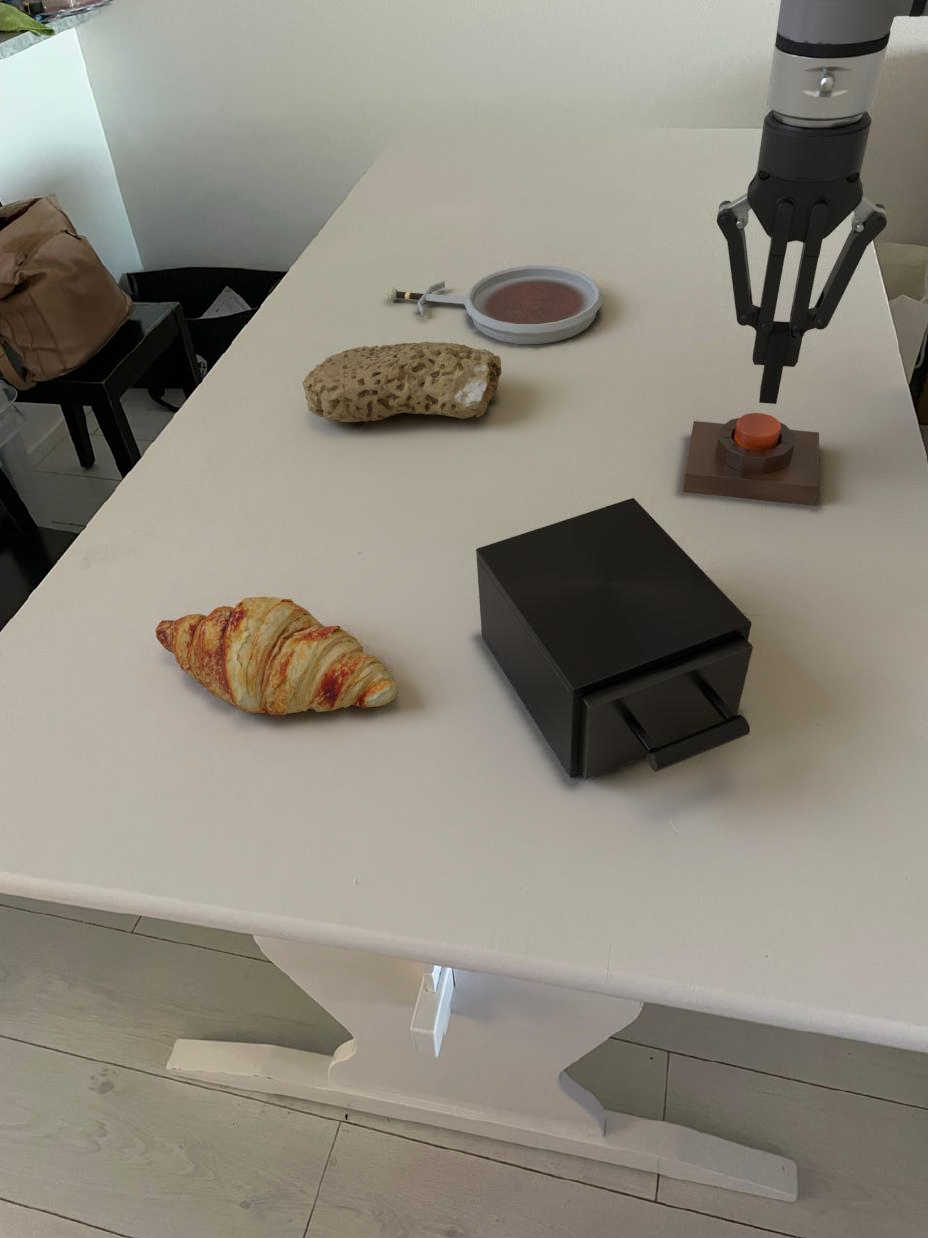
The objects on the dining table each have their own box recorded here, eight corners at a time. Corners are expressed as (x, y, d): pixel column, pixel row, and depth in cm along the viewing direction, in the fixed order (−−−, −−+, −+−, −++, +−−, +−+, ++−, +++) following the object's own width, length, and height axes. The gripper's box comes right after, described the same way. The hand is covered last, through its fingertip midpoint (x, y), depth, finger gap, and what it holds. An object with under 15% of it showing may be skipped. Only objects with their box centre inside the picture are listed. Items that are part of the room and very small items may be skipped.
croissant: (416, 707, 76) (426, 615, 73) (368, 757, 67) (377, 653, 64) (190, 653, 81) (192, 565, 79) (117, 692, 72) (116, 595, 69)
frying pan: (408, 254, 125) (615, 266, 117) (411, 275, 127) (614, 288, 119) (361, 313, 113) (586, 330, 106) (364, 335, 115) (585, 353, 108)
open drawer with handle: (771, 762, 65) (792, 689, 59) (616, 827, 62) (623, 757, 56) (634, 597, 77) (641, 524, 72) (499, 645, 74) (495, 573, 69)
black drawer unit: (732, 713, 69) (752, 622, 62) (570, 778, 66) (573, 690, 59) (625, 586, 80) (633, 497, 73) (481, 637, 76) (475, 548, 70)
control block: (814, 450, 92) (823, 416, 89) (814, 506, 86) (823, 470, 83) (691, 439, 94) (695, 405, 92) (682, 492, 88) (687, 457, 86)
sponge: (500, 391, 105) (334, 346, 107) (509, 337, 99) (332, 290, 100) (469, 474, 98) (292, 425, 100) (477, 423, 92) (287, 370, 93)
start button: (778, 430, 88) (781, 414, 87) (777, 454, 86) (780, 438, 84) (735, 426, 89) (737, 410, 88) (732, 449, 87) (735, 434, 85)
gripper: (723, 127, 67) (691, 412, 83) (918, 128, 63) (845, 423, 80) (729, 95, 72) (698, 369, 88) (911, 94, 69) (843, 378, 85)
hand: (768, 395), depth 84 cm, fingers closed
